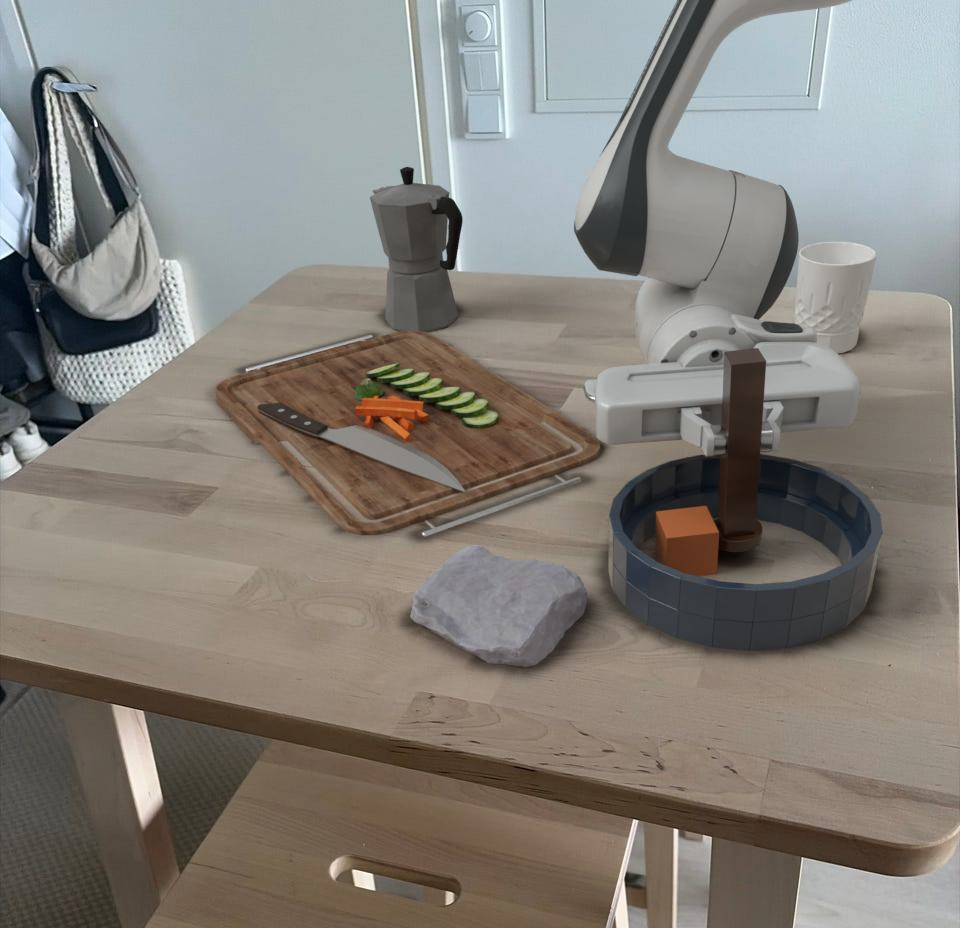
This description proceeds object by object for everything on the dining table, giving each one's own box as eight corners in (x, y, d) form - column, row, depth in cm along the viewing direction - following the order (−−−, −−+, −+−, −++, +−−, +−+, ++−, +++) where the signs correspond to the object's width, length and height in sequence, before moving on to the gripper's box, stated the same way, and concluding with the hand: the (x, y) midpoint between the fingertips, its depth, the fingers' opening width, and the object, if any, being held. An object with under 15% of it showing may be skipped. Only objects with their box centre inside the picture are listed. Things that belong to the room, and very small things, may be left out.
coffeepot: (360, 319, 131) (340, 168, 120) (417, 298, 136) (402, 151, 125) (439, 348, 122) (424, 187, 111) (497, 324, 127) (488, 168, 116)
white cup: (865, 357, 112) (881, 264, 106) (790, 357, 113) (802, 265, 107) (856, 330, 118) (871, 240, 112) (785, 330, 119) (796, 241, 113)
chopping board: (631, 471, 95) (631, 441, 93) (369, 565, 85) (364, 534, 84) (411, 331, 127) (408, 306, 125) (202, 388, 117) (196, 362, 115)
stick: (755, 522, 82) (767, 342, 73) (767, 549, 79) (781, 364, 70) (704, 527, 82) (710, 348, 73) (715, 555, 79) (722, 370, 70)
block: (704, 548, 83) (706, 505, 80) (716, 576, 80) (719, 532, 77) (655, 554, 83) (655, 511, 80) (665, 581, 80) (666, 538, 77)
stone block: (538, 701, 73) (598, 606, 78) (527, 657, 70) (590, 559, 75) (401, 660, 79) (466, 573, 84) (385, 616, 75) (453, 528, 80)
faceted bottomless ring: (825, 508, 88) (835, 444, 84) (906, 649, 72) (923, 579, 69) (595, 524, 88) (595, 461, 85) (627, 668, 73) (629, 599, 69)
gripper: (580, 342, 84) (600, 415, 73) (832, 323, 84) (890, 394, 73) (581, 413, 88) (600, 493, 77) (821, 395, 87) (875, 473, 76)
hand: (743, 445), depth 75 cm, fingers closed on stick, 2 cm apart
